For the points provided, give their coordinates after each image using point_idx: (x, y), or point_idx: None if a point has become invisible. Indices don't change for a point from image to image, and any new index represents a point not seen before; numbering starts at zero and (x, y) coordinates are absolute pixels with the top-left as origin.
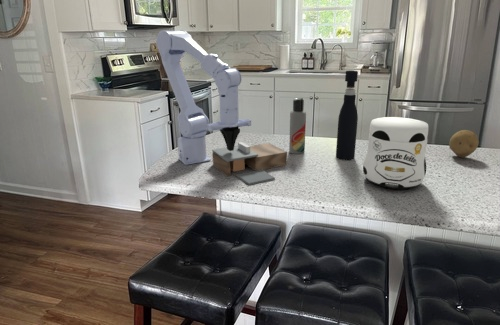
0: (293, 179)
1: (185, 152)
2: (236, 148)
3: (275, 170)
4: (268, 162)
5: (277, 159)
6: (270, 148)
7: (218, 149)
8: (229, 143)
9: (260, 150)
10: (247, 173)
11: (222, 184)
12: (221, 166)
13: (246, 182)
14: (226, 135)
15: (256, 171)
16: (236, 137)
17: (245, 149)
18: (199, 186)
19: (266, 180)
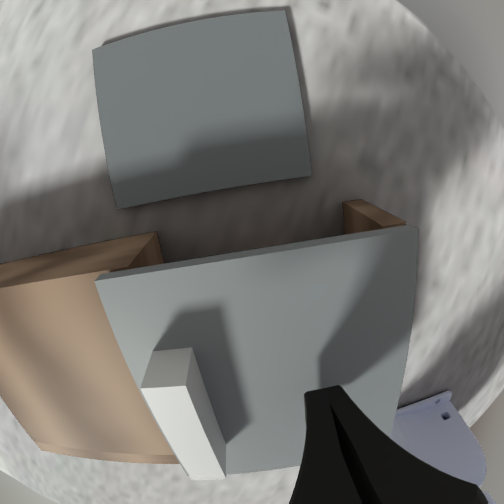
0: (19, 46)
1: (463, 432)
2: (238, 446)
3: (46, 198)
4: (56, 261)
5: (5, 274)
6: (23, 390)
7: None
8: (373, 426)
9: (76, 390)
10: (234, 167)
11: (418, 94)
12: None
13: (289, 36)
14: (455, 478)
15: (161, 185)
16: (302, 490)
17: (193, 381)
18: (500, 133)
19: (152, 32)
